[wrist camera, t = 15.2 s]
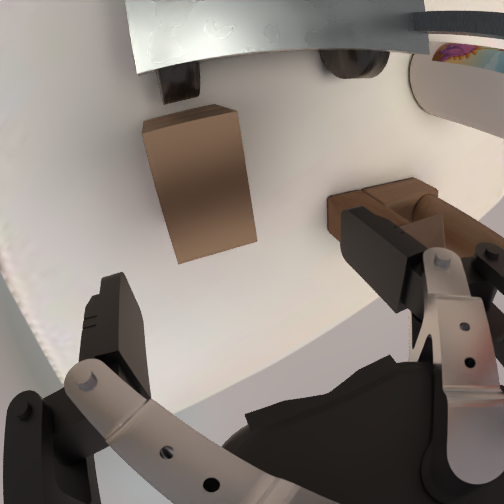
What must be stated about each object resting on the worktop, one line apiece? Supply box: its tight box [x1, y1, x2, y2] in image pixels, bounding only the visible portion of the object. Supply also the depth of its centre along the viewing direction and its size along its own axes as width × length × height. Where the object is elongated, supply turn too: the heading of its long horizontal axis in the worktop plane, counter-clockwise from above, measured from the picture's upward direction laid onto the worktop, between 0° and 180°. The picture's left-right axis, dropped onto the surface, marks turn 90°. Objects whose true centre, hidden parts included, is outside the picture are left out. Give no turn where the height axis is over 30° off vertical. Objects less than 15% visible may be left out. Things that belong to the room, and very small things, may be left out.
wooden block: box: [328, 178, 504, 290], centre depth 21 cm, size 4×11×18 cm, turn 98°
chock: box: [142, 104, 257, 264], centre depth 20 cm, size 8×5×6 cm, turn 9°
